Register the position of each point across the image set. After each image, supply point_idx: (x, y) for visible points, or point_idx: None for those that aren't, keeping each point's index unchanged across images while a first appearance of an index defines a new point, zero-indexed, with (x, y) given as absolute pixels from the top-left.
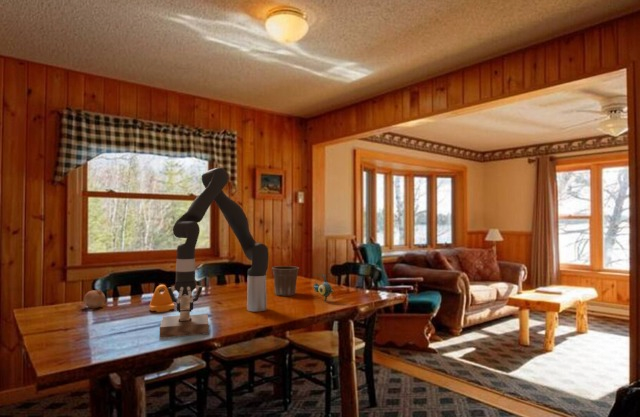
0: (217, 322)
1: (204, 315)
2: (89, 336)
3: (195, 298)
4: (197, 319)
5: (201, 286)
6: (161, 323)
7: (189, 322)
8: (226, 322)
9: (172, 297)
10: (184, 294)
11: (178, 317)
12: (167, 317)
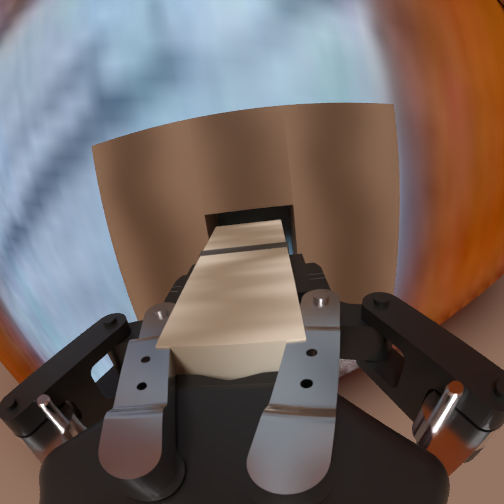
0: (418, 110)
1: (377, 142)
2: None
3: (366, 369)
4: (336, 246)
5: (499, 428)
6: (133, 301)
7: None
8: (455, 127)
9: (112, 394)
10: (218, 371)
11: (191, 169)
12: (119, 163)
